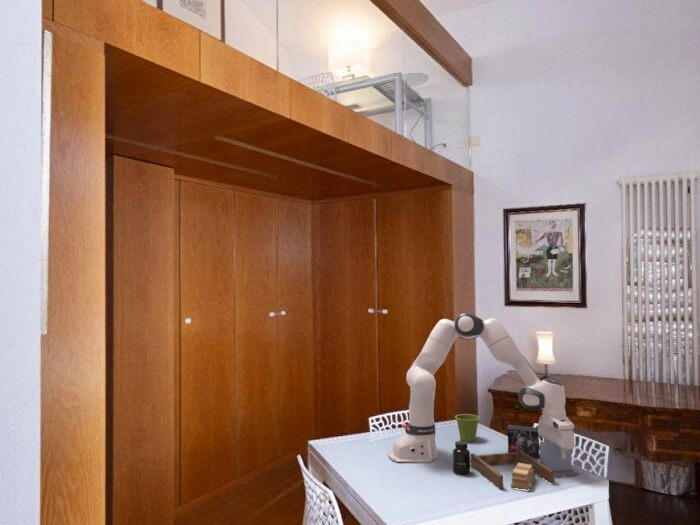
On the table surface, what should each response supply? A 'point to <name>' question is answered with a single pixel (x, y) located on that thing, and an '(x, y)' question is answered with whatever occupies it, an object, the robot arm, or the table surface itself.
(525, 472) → the offcut stack
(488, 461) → the walnut rack
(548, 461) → the gray block
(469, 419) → the plant pot
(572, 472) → the charcoal mat
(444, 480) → the table surface
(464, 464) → the supplement bottle
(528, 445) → the small box
